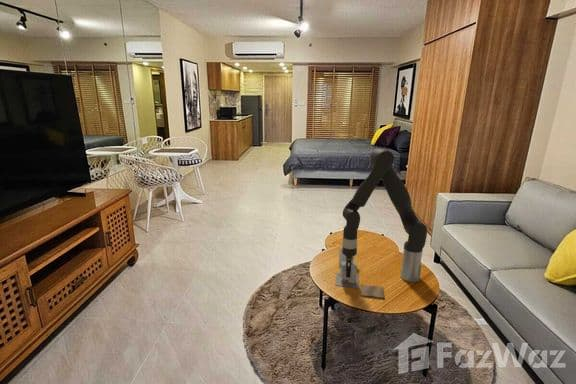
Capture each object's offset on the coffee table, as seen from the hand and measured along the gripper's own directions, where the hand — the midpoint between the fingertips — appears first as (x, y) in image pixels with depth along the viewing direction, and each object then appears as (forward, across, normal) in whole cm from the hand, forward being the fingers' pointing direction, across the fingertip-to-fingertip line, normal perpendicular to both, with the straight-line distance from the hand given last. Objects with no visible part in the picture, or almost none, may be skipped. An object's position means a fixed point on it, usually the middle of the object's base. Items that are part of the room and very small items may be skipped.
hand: (348, 274), depth 165 cm
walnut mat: (+4, -8, -12) cm, 15 cm away
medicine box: (+3, 0, 0) cm, 3 cm away
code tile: (+4, 0, 0) cm, 4 cm away
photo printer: (+4, +18, +1) cm, 19 cm away
